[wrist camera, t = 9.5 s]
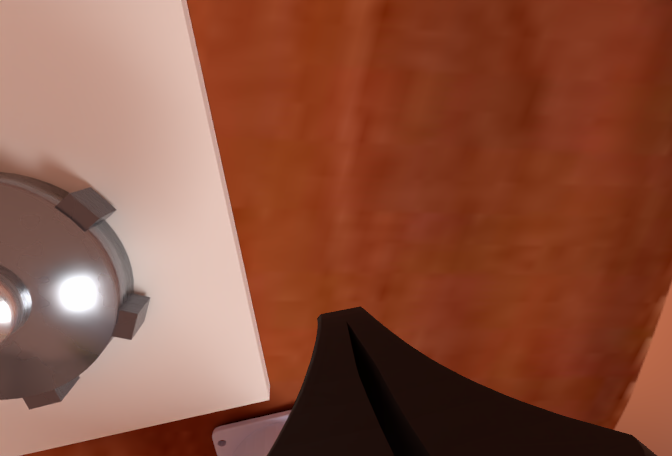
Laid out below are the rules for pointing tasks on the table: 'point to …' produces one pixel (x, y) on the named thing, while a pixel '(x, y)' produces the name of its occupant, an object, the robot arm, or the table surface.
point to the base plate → (132, 209)
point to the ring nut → (58, 288)
